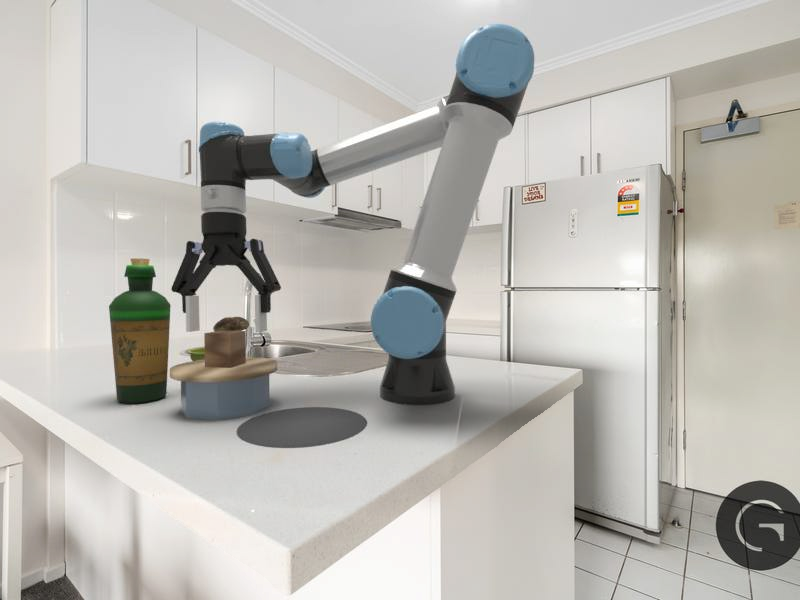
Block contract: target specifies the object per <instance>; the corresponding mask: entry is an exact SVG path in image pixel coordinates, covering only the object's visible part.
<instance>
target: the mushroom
mask: <svg viewBox="0 0 800 600" xmlns="http://www.w3.org/2000/svg"><path fill="white" fill-rule="evenodd" d="M249 325H250V323H249V321H248V320H247V319H245V318H244V317H241V316H228V317H227V316H226V317H223V318H222V319H220V320H219V321H217V322H216V323H214V326H213V328H212V329H213V332H215V331H246V330H247V329H248V328H249V327H250V326H249Z"/></svg>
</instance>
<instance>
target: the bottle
mask: <svg viewBox="0 0 800 600" xmlns="http://www.w3.org/2000/svg"><path fill="white" fill-rule="evenodd" d="M130 262H131V264H126V266H125V270H124V271H125V272H124V276H123V277H124V278H127V285H128V290H126V291H123V292H122V293H120V294H119V295H118V296H116V297H115V298H113V300H112V301H111V302H110V304H109V305H108V311H109V321H110V322H109V324H110V333H111V347H112V354H113V356H112V357H113V359H112V360H113V368H114V378H115V379H114V380H115V381H114V382H115V392H116V400H117V401H118V402H120V403H123V404H130V405H131V404H134V405H135V404H146V403H152V402H155V401H158V400H161V399H163V398H164V397H166V396H167V389H168V388H167V387H168V372H169V371H168V365H169V346H170V326H171V325H170V323H171V307H172V306H171V303H170V301H169V300H168V299H167V298H166V297H165V296H164V295H163V294H161V293H159V292H158V291H155V290H153V284H154V283H153V281H154V278H157V274H156V270H155V267H154V265H149V264H150V259H149V258H130Z"/></svg>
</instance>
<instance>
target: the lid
mask: <svg viewBox="0 0 800 600" xmlns="http://www.w3.org/2000/svg"><path fill="white" fill-rule="evenodd" d="M246 337H247V336H246V330H242V331H211V332H204V337H203V338H204V341H203V342H204V348H205V360H198V361H192V360H191V361H186V362H183V363H177V364H176V365H173V366H171V367H170V368H169V378H170V379H172V380H174V381H179V382H181V381H185V382H225V381H236V380H244V379H251V378H256V377H261V376H265V375H268V374H269V375H270V374H271V375H272V374H273V373H275V372H276V371H278V361H277V360H275V359H272V358H267V357H255V356H254V357H252V356H247V355H246V354H247V353H246V351H247V349H246V346H247V345H246V344H247V343H246V342H247V341H246Z"/></svg>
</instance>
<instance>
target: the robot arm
mask: <svg viewBox="0 0 800 600" xmlns="http://www.w3.org/2000/svg"><path fill="white" fill-rule="evenodd" d="M455 69H456V73H455V77H454V79H453V82H452V86H451V89H450V92H449V94H448V95H445V96H441V97H440V99H439V101H438V103H437V104H436V105H435V106H431V107H429V108H426V109H424V110H420V111H419V112H414V113H413V114H409V115H408V116H404V117H402V118H399V119H395V120H393V121H391V122H388V123H385V124H382V125H379V126H377V127H374V128H371V129H369V130H368V129H367V130H365V131H363V132H361V133H357V134H355V135H352V136H349V137H347V138H344V139H341V140H338V141H335V142H333V143H330V144H327V145H324V146H322V147H319V148H317V149H314V150H312V148H311V145H310V144H309V141H308V140H309V139H307V137H306V136H305V135H304V134H302V133H300V132H299V133H298V132H285V131H283V132H279V133H268V134H255V135H254V134H253V135H245V132H244V130H243V129H242V128H241V127H240V126H239V125H236V124H234V123H230V122H220V121H209V122H207V123H205V124H203V125H202V126H201V128H200V132H199V146H198V153H199V160H200V161H199V165H200V168H199V169H200V210H201V211H203V213H202V214H201V215H200V221H201V222H200V224H201V234H202V237H203V240H202V242H199V241H191V240H188V241H187V242H186V245H185V246H186V247H185V254H184V256H183V259H182V262H181V263H180V266H179V269H178V271H177V274H176V275H175V278H174V281H173V282H172V285H171V291H172V292H173V293H177V294H179V295H180V296H181V298H182V299H181V301H182V303H181V304H182V307H181V308H182V313H183V314H185V324H186V325H185V327H186V328H185V329H186V330H185V332H186V333H191V332H198V331H201V330H200V327H201V326H200V295H197V293H196V292H197V291H198V290H199V288H200V287H201V285H202V284H203V283H204V281H205V280H206V278H207V277H208V276H209V274H210V273H211V272H212V270H213V269H215V268H216V267H217V266H218V267H223V266H225V267H226V266H236V267H237V268H238V270H240V271H241V272H242V273H243V275H244V276H245V277H246V279H247V280H248V281H249V282H250V283H251V285H252V286H253V287H254V288H255V289H256V291H257V292H258V293H257V294H255V295H254V320H255V321H254V324H255V325H254V326H255V327H254V328H255V329H254V330H255V333H263V332H267V331H268V322H267V321H268V315H267V313H271V310H272V305H271V304H272V302H271V298H272V297H271V295H272V294H273V293H275V292H278V291H280V290H281V289H282V287H281V284H280V282H279V280H278V277H277V276H276V274H275V271H274V269H273V267H272V265H271V264H270V262H269V260H268V257H267V255H266V253H265V249H264V242H263V240H262V239H261V240H260V239H256V238H251V239H250V240H247V239H246V236H247V232H248V231H247V217H246V216H245V215H244V214H245V213H246V212H247V197H246V194H247V193H246V191H247V190H246V189H247V188H246V184H247V183H246V182H247V181H256V180H257V181H259V180H273V181H274V182H276V183H278V184H279V185H282V186H283V187H285V188H286V189H288V190H290V191H291V192H292V193H293V194H296V195H297V196H299V197H302V198H307V199H309V198H310V199H312V198H316V197H318V196H320V194H321V193H322V192H323V191H324V190H325V188H327V187H330V186H332V185H335V184H338V183H342V182H343V181H347V180H351V179H353V178H356V177H359V176H361V175H365V174H367V173H370V172H373V171H376V170H379V169H381V168H384V167H385V168H386V167H387V166H390V165H393V164H395V163H399V162H402V161H405V160H408V159H411V158H414V157H417V156H419V155H423V154H425V153H428V152H430V151H433V150H436V149H440V151H439V154H438V156H437V160H436V162H435V165H434V168H433V172H432V175H431V177H430V181H429V184H428V186H427V190H426V193H425V196H424V198H423V200H422V201H423V202H422V205H421V208H420V210H419V214H418V216H417V219H416V222H415V224H414V225H415V226H414V228H413V231H412V233H411V237H410V241H409V244H408V246H407V250H406V252H405V255H404V258H403V261H401V262H400V263H399V264H397V265H394V266H393V267H392V268H391V269H390V272H389V275H388V277H387V280H386V284H385V286H384V289H383V293H382V294H381V296H379V298H378V299H377V300H376V302H375V304H374V306H373V308H372V311H371V316H370V329H371V333H372V335H373V338H374V340H375V341H376V343H377V345H379V347H380V348H381V349H382V350H383V351H385V353H387V354H388V359H387V363H386V367H385V369H384V372H383V377H382V380H381V382H380V385H379V397H380V398H381V399H382V400H384V401H387V402H389V403H394V404H398V405H406V406H409V405H410V406H431V405H438V404H443V403H447V402H450V401H452V400H454V399H455V397H456V394H455V393H456V392H455V391H456V387H455V383H454V381H453V377H452V374H451V371H450V368H449V364H448V361H447V320H448V317H449V315H450V311H451V308H452V305H453V302H454V300H455V296H456V293H457V288H456V285H455V283H454V281H453V275H454V271H455V269H456V266H457V263H458V260H459V257H460V254H461V251H462V248H463V245H464V242H465V239H466V237H467V234H468V231H469V228H470V225H471V223H472V222H471V221H472V219H473V216H474V213H475V210H476V207H477V205H478V202H479V198H480V196H481V192H482V191H483V187H484V184H485V181H486V178H487V175H488V172H489V170H490V167H491V164H492V161H493V158H494V155H495V154H496V153H495V152H496V149H497V147H498V144H499V141H500V140H503V139H504V138H506V137H508V136H510V135H511V133H512V131H513V130H514V126H515V123H516V120H517V117H518V115H519V111H520V110H521V106H522V103H523V100H524V97H525V94H526V91H527V88H528V85H529V84H530V81H531V79H532V77H533V75H534V71H535V52H534V48H533V45H532V43H531V42H530V40H529V39H528V37H527V36H526V35H525V34H524V33H523V32H522V31H521V30H519V29H517V28H516V27H514V26H512V25H509V24H503V23H491V24H487V25H486V24H485V25H483V26H482V27H479V28H478V29H476V30H474V31H472V32H470V34H469V35H467V37H466V38H465V39H464V40H463V41H462V43H461V45H460V48H459V49H458V53H457V55H456V59H455ZM247 251H249V253H251V256H252V257H253V259H254V262H255V264H256V266H257V268H258V270H259V272H258V271H257V270H256V269H255V268H254V266H253V265H252V264H251V261H250V259H248V257H247V256H246V252H247ZM202 253H204V255H203V256H202V257H201V254H202ZM200 257H201V259H200ZM198 261H199V265H198V266H197V264H198ZM259 273H260V274H259Z"/></svg>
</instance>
